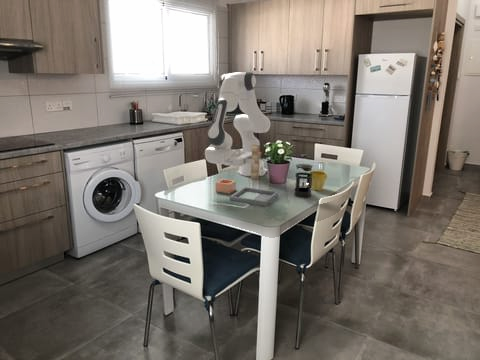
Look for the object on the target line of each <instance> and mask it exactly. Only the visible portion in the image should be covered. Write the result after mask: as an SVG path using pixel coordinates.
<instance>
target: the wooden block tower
mask: <svg viewBox="0 0 480 360" xmlns="http://www.w3.org/2000/svg"><path fill="white" fill-rule="evenodd" d="M260 147H261V146H260V145H252V159H255V160H256V161H255V163H251V176H250V180H252V181H258V180H259V178H260V176H259V153H260V152H261V151H260Z"/></svg>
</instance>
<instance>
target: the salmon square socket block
mask: <svg viewBox="0 0 480 360" xmlns="http://www.w3.org/2000/svg"><path fill="white" fill-rule="evenodd" d="M236 186H237V180H233V179H225V178H221V179H220V180H218V181H216V182H215V192H217V193H225V194H231V193H233V192H235V191H236V188H237V187H236Z"/></svg>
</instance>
